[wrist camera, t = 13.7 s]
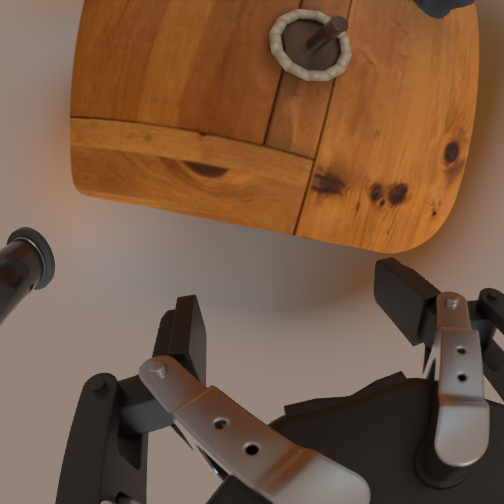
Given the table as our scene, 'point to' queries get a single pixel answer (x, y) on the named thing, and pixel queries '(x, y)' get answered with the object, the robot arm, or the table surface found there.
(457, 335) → the robot arm
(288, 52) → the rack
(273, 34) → the ring
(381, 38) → the table surface
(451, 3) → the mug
